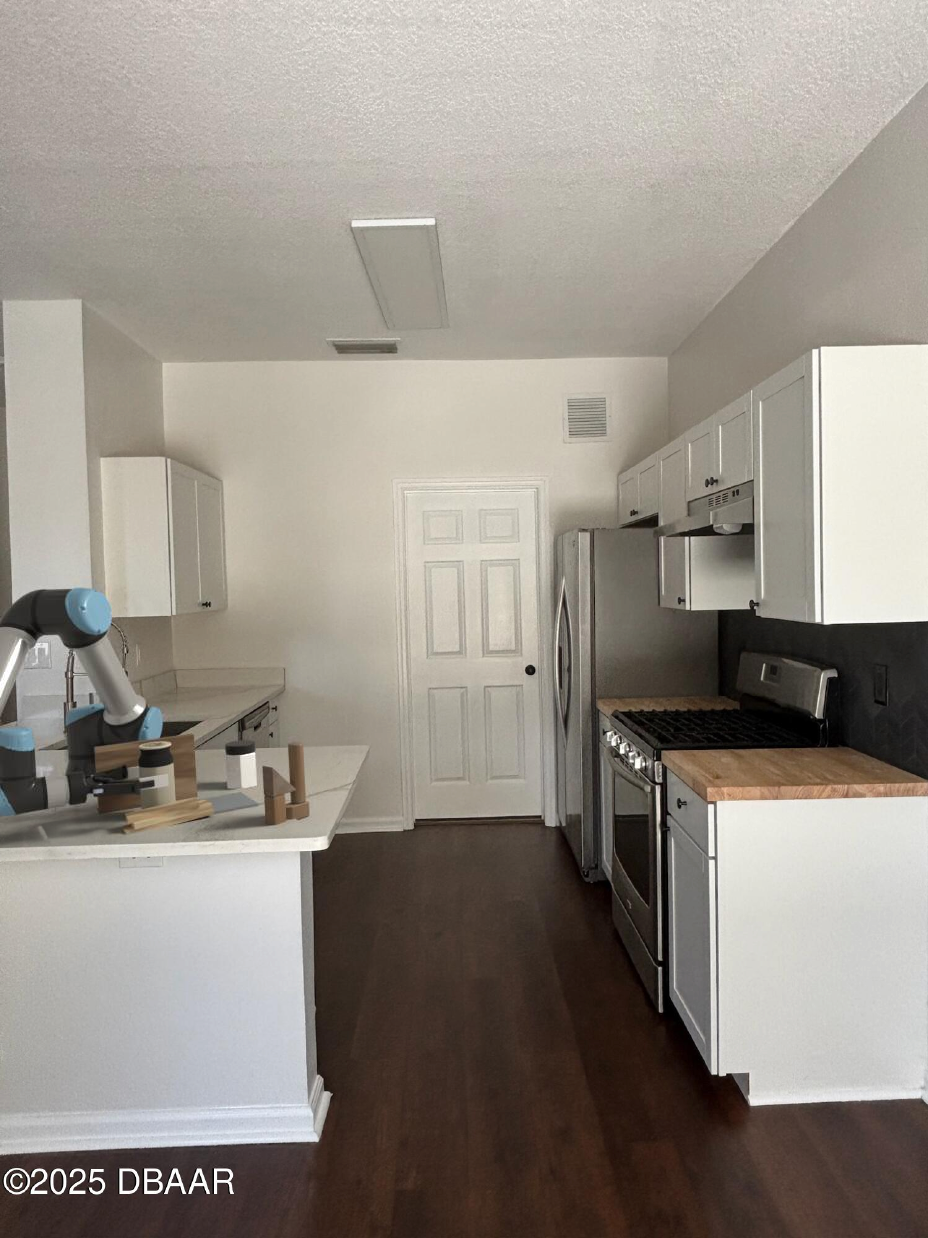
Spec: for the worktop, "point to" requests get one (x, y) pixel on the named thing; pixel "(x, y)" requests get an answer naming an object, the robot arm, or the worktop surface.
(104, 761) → the wooden board
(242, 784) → the jar
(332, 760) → the worktop surface
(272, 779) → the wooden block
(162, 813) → the offcut stack
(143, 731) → the robot arm
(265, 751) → the worktop surface
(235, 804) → the mat
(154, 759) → the travel mug
